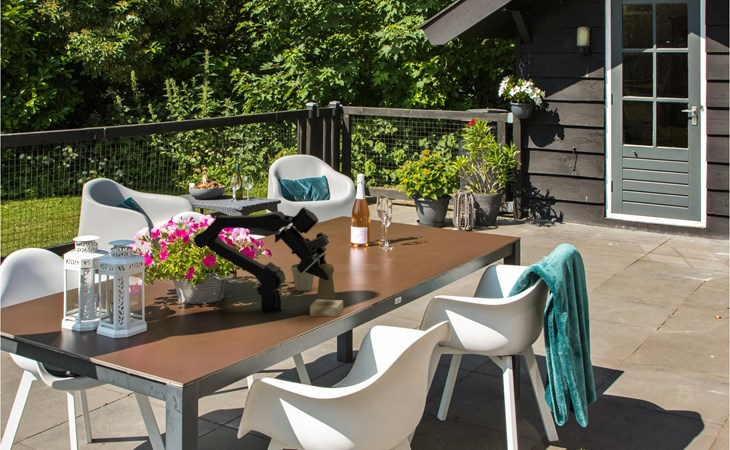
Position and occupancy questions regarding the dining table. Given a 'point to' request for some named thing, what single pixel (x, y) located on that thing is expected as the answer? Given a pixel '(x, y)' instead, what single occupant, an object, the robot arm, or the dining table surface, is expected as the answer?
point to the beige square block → (326, 308)
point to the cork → (326, 284)
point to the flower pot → (302, 279)
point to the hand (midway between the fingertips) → (330, 277)
